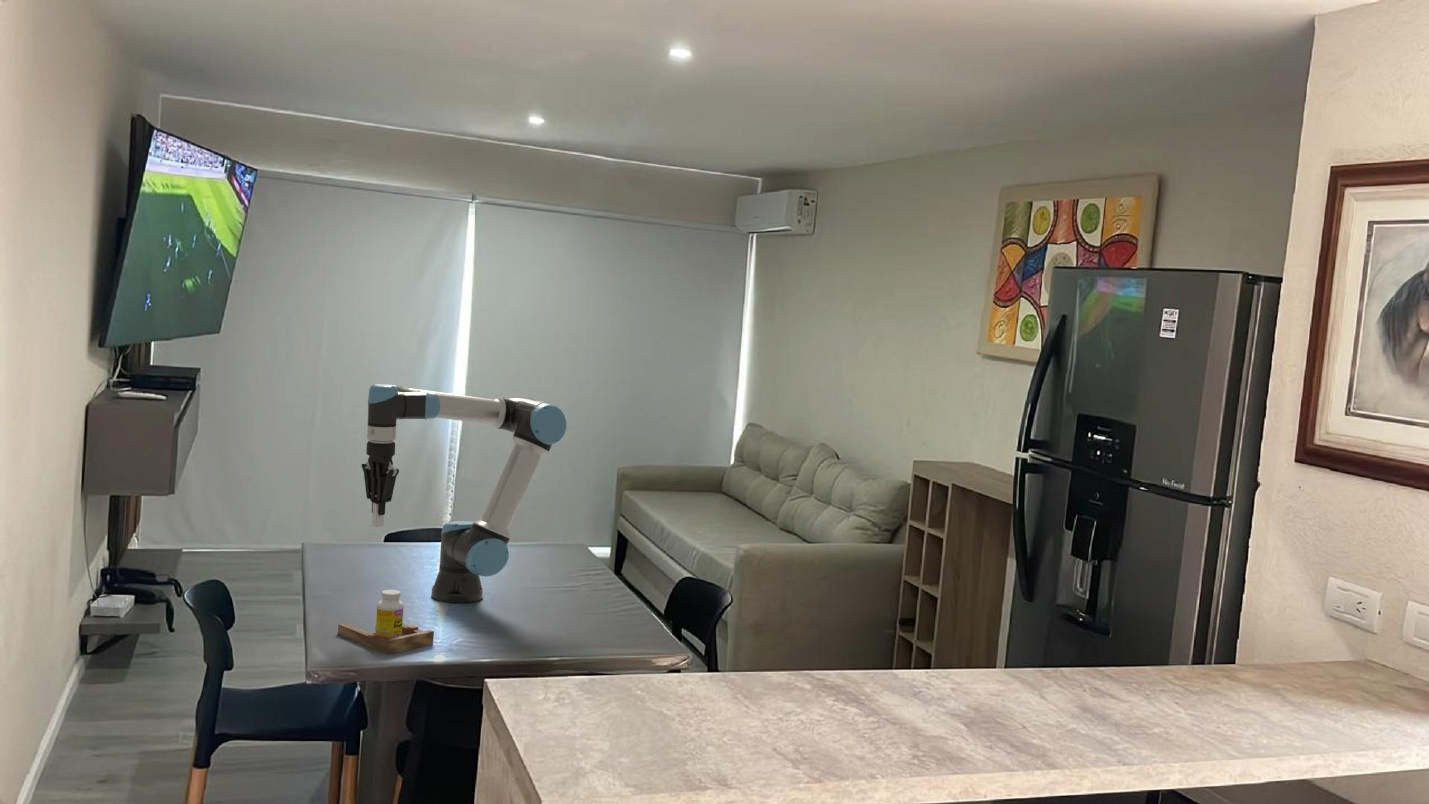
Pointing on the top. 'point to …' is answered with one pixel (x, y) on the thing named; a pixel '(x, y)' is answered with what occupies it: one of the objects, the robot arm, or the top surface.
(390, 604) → the supplement bottle
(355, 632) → the wooden frame
